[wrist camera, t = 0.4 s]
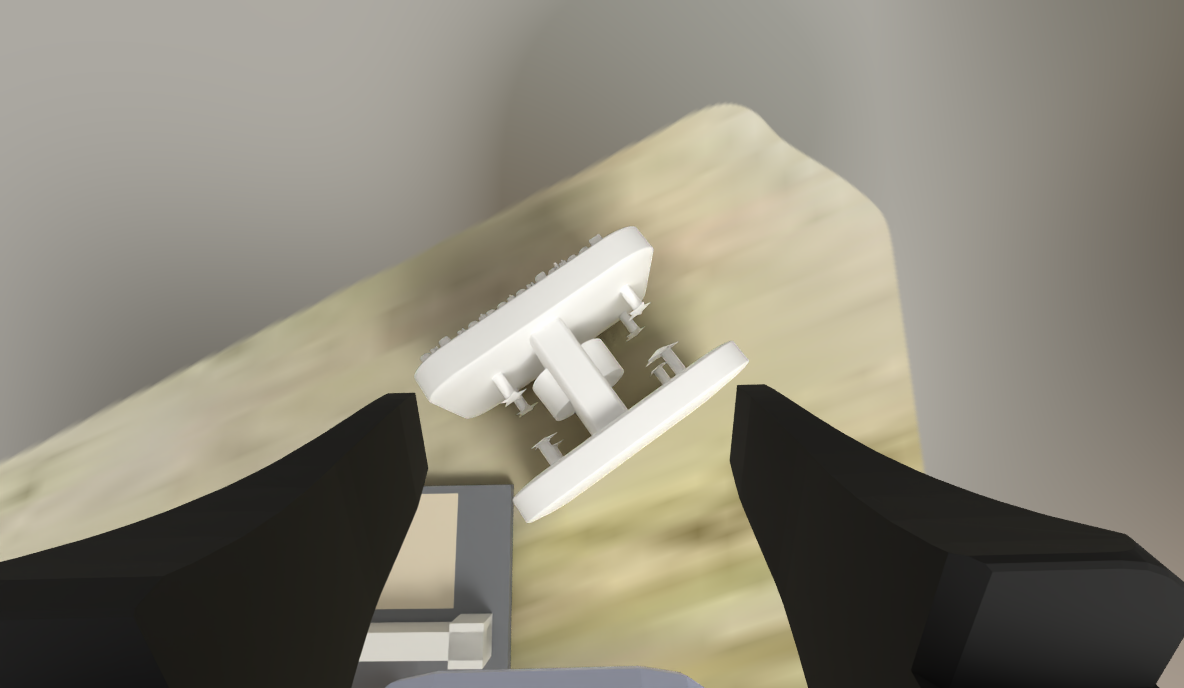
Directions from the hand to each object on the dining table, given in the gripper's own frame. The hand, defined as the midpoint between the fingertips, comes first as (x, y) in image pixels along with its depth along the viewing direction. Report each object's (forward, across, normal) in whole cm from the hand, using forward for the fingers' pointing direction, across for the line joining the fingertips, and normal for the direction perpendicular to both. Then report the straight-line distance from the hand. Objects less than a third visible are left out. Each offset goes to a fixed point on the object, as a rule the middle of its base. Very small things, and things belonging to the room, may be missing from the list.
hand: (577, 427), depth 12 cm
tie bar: (+14, +12, +24) cm, 30 cm away
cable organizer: (+24, 0, +13) cm, 27 cm away
